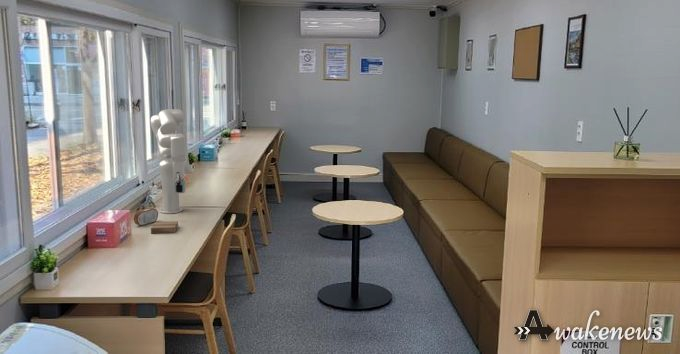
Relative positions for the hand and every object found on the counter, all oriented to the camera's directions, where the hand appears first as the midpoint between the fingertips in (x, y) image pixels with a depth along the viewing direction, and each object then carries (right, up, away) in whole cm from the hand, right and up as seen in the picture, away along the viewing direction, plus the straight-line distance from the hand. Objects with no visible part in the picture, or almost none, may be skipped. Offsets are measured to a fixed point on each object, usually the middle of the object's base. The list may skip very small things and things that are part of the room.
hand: (180, 190), depth 314 cm
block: (0, -1, 0) cm, 1 cm away
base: (-5, -21, -10) cm, 24 cm away
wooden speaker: (-19, -19, +2) cm, 27 cm away
